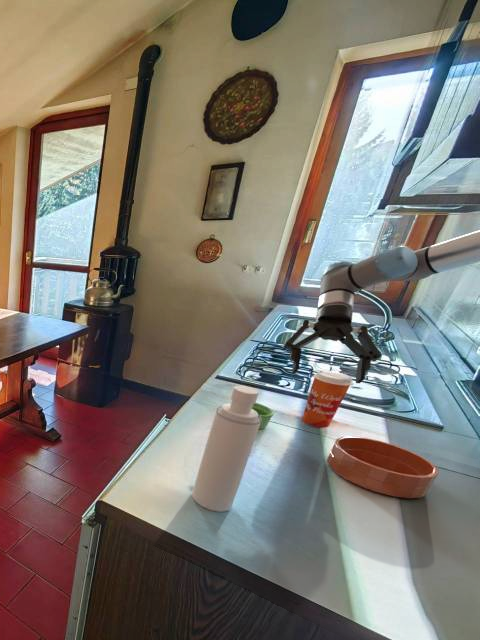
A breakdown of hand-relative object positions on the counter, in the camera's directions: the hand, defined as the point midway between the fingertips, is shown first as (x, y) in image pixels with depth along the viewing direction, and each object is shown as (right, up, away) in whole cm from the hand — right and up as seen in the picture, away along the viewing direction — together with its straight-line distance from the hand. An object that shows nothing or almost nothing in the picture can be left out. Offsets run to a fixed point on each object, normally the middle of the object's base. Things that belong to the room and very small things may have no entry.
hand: (326, 376), depth 105 cm
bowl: (-11, -22, -22) cm, 33 cm away
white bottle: (-50, -25, -30) cm, 64 cm away
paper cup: (-3, -13, 0) cm, 13 cm away
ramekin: (-21, -13, 0) cm, 25 cm away
